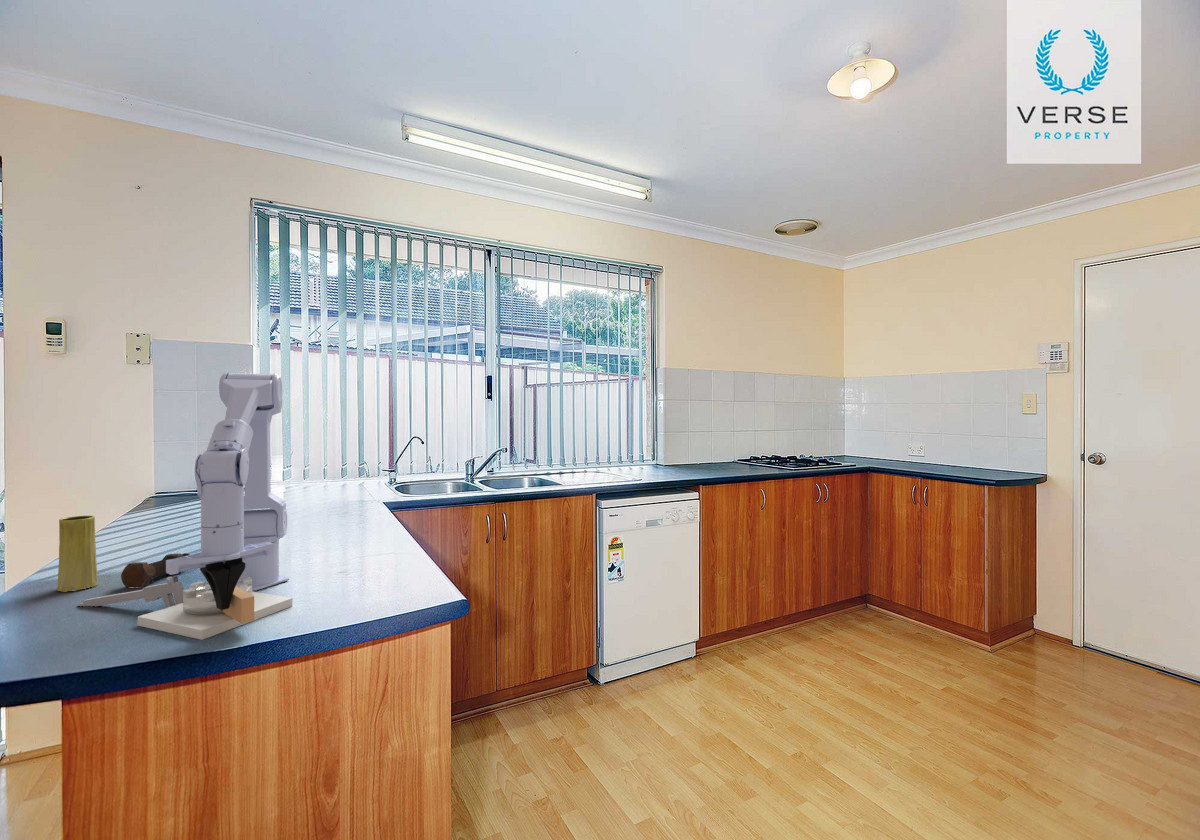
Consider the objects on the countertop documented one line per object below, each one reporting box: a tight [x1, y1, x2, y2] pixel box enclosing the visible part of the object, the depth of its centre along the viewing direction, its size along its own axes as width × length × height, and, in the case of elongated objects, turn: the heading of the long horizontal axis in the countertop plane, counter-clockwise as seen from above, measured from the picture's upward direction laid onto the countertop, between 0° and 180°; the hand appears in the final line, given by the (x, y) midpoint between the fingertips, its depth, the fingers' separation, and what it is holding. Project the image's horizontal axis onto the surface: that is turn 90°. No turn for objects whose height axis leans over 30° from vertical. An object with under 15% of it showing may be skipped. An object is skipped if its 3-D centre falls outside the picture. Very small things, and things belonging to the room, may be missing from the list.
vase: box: [56, 515, 99, 592], centre depth 110 cm, size 6×6×14 cm
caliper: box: [77, 575, 185, 608], centre depth 99 cm, size 20×1×6 cm, turn 85°
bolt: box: [120, 553, 191, 588], centre depth 118 cm, size 6×5×15 cm
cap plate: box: [137, 591, 293, 641], centre depth 95 cm, size 16×16×2 cm
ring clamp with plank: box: [183, 577, 255, 625], centre depth 93 cm, size 18×10×4 cm, turn 52°
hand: (223, 607), depth 88 cm, fingers closed
